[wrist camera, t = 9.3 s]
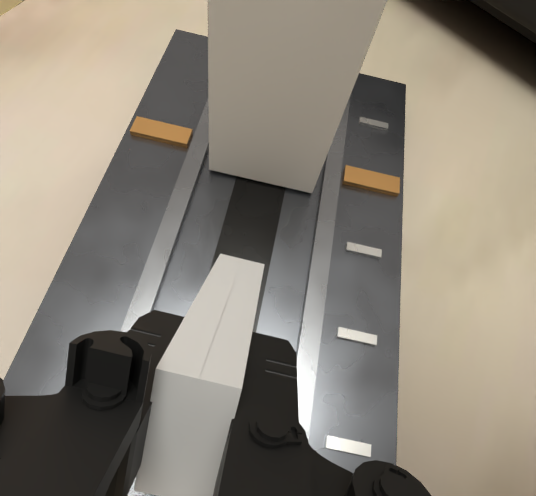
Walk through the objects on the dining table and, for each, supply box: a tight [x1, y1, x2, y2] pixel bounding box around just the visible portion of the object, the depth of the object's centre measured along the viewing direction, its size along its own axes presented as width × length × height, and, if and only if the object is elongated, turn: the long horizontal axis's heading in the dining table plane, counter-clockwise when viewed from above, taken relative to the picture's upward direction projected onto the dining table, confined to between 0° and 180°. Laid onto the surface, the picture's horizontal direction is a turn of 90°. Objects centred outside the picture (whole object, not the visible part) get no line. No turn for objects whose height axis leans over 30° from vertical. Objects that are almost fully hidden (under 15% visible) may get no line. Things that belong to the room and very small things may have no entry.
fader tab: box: [208, 0, 387, 193], centre depth 14 cm, size 3×5×13 cm, turn 79°
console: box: [3, 29, 406, 496], centre depth 18 cm, size 24×14×3 cm, turn 169°
